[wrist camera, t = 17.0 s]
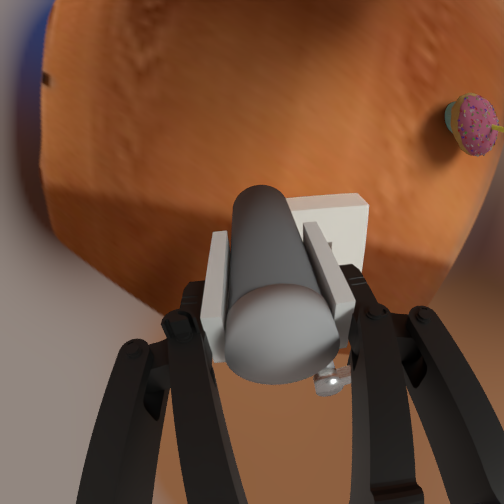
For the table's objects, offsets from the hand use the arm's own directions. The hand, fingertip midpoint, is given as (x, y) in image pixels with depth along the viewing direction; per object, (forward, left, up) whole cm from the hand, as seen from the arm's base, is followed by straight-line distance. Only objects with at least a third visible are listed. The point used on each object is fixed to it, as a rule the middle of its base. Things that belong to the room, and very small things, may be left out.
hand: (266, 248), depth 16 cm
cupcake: (-6, +29, -19) cm, 36 cm away
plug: (0, 0, -5) cm, 5 cm away
